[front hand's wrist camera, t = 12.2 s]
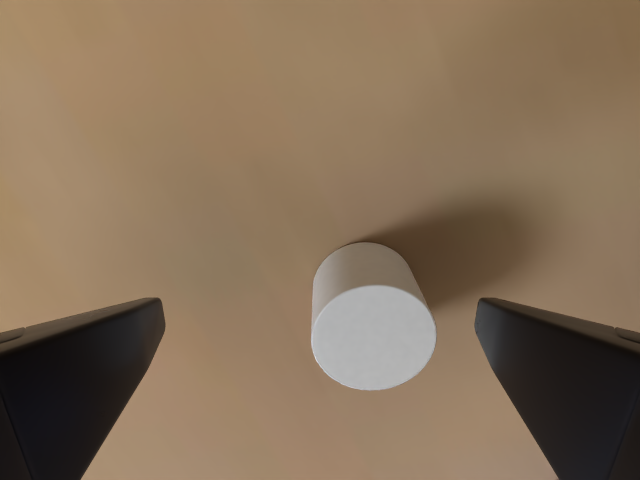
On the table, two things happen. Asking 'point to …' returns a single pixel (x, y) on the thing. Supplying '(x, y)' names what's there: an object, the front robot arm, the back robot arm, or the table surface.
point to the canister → (370, 318)
